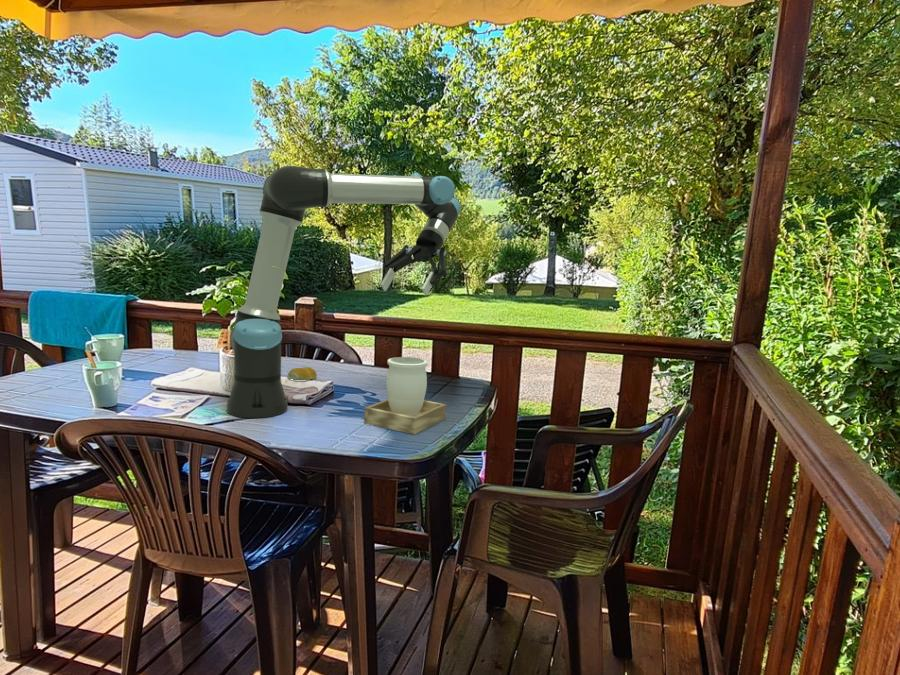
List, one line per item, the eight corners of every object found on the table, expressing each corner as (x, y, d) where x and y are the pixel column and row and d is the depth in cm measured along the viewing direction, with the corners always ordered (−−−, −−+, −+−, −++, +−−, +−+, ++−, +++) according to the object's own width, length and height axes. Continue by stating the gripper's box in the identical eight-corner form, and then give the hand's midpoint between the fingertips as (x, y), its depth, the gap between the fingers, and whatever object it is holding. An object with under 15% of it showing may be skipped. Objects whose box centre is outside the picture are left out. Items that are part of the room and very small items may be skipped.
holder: (363, 422, 148) (364, 407, 147) (397, 409, 162) (398, 395, 161) (414, 434, 141) (415, 418, 140) (445, 419, 155) (446, 404, 154)
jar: (430, 421, 148) (433, 364, 146) (390, 424, 145) (392, 365, 142) (418, 410, 158) (421, 356, 156) (381, 412, 155) (383, 356, 152)
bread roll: (321, 379, 192) (321, 367, 191) (300, 383, 185) (300, 371, 184) (304, 374, 197) (304, 363, 196) (283, 378, 189) (283, 366, 189)
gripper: (473, 249, 171) (446, 302, 160) (401, 244, 182) (371, 294, 172) (466, 230, 166) (438, 284, 155) (392, 226, 177) (361, 277, 166)
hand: (403, 289), depth 163 cm, fingers open, 13 cm apart
